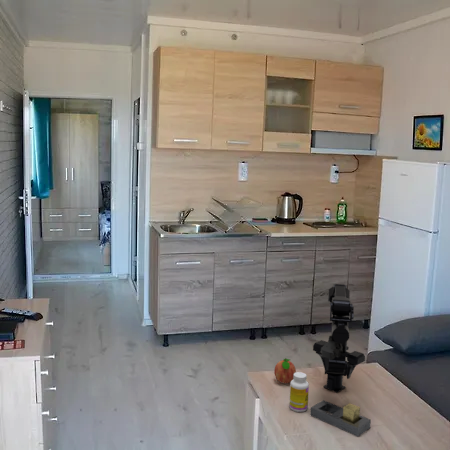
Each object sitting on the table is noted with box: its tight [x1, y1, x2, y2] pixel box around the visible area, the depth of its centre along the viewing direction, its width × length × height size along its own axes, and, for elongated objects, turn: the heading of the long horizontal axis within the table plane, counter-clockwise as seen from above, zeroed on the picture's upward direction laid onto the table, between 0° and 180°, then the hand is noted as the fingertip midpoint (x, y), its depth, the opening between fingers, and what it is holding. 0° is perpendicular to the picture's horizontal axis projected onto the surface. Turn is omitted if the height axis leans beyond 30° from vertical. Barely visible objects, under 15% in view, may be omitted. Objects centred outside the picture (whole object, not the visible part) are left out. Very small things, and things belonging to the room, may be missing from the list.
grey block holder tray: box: [309, 399, 372, 437], centre depth 183 cm, size 8×19×3 cm, turn 46°
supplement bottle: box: [288, 371, 310, 413], centre depth 190 cm, size 7×7×13 cm
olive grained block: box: [342, 402, 361, 424], centre depth 179 cm, size 4×4×7 cm
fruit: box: [273, 357, 297, 384], centre depth 212 cm, size 9×10×10 cm
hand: (337, 374), depth 193 cm, fingers open, 9 cm apart
